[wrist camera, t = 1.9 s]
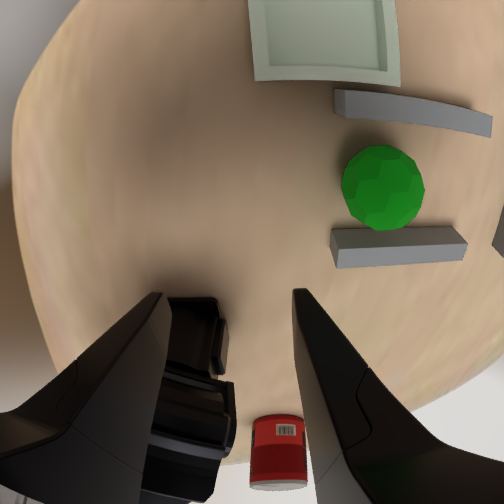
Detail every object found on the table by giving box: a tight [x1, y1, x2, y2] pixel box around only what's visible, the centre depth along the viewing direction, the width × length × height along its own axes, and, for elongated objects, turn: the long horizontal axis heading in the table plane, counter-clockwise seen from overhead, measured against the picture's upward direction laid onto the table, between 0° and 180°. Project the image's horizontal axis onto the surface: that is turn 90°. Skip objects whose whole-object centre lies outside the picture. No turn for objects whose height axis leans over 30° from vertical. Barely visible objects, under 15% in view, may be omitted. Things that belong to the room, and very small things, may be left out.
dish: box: [248, 0, 401, 87], centre depth 11 cm, size 8×8×2 cm
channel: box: [330, 89, 504, 269], centre depth 16 cm, size 18×12×2 cm
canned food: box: [250, 415, 308, 491], centre depth 33 cm, size 8×8×11 cm
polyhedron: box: [341, 145, 425, 231], centre depth 15 cm, size 5×5×5 cm
